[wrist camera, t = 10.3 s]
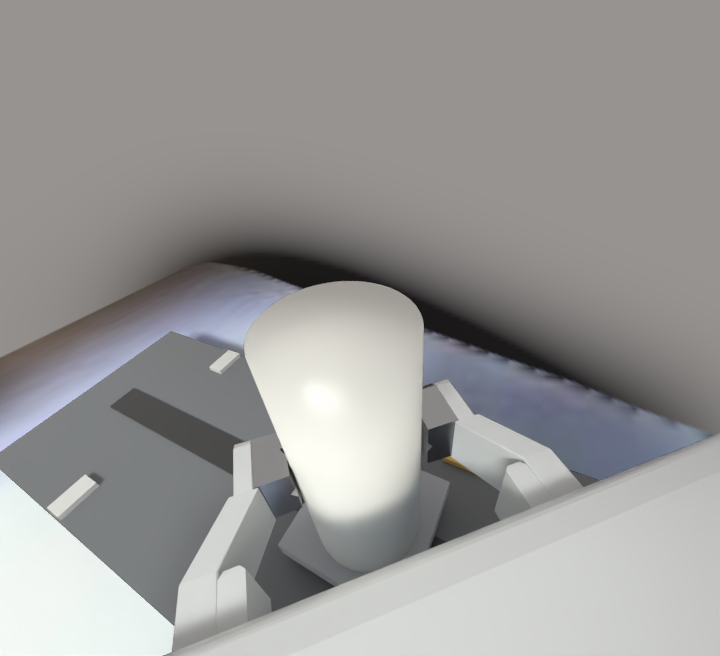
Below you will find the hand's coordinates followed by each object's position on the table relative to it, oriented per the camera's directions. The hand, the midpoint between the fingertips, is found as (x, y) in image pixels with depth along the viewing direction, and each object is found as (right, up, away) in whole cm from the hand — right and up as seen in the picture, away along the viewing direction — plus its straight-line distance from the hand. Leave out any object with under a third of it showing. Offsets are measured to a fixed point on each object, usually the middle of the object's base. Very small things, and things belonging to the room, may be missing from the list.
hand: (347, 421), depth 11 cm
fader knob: (+1, -5, +3) cm, 5 cm away
